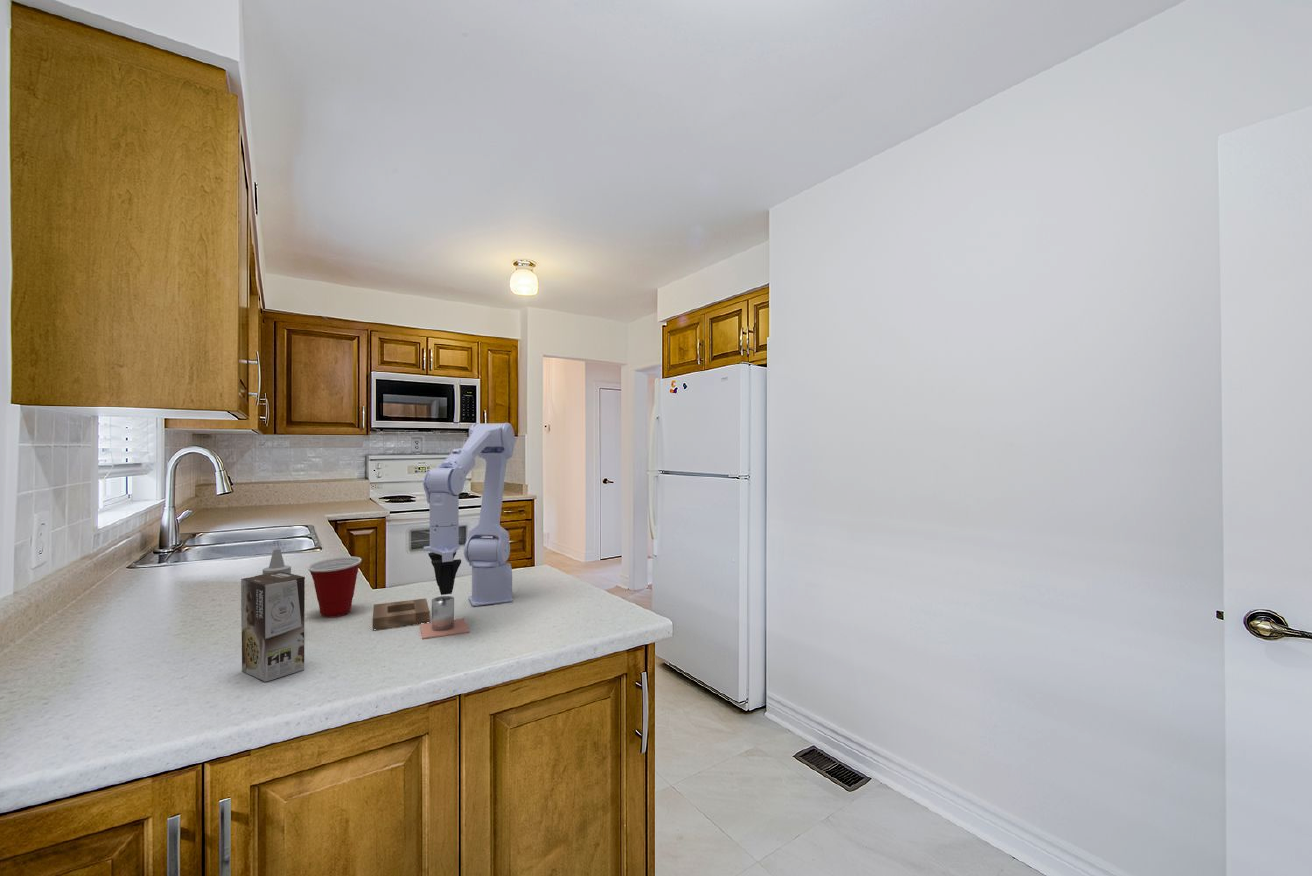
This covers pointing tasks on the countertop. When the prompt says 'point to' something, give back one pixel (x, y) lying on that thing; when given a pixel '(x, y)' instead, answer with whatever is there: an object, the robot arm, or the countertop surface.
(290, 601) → the coffee box
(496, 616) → the countertop surface
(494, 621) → the countertop surface
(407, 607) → the socket block
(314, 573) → the plastic cup
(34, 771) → the countertop surface
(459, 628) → the rubber mat
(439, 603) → the metal plug
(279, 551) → the squeeze bottle
